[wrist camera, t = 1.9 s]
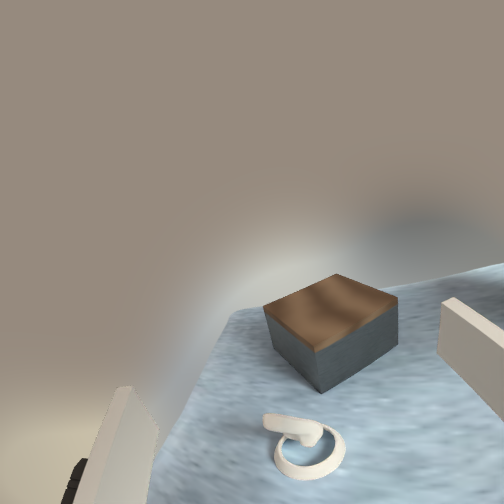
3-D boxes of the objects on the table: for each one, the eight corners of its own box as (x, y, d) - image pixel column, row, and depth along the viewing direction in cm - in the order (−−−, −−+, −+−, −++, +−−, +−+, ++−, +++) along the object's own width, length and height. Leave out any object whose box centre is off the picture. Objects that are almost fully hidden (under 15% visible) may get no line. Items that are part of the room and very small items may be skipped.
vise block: (341, 313, 51) (336, 273, 49) (397, 344, 38) (397, 297, 36) (273, 347, 47) (262, 306, 44) (321, 394, 34) (313, 346, 32)
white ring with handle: (218, 479, 20) (227, 408, 24) (287, 473, 27) (292, 421, 31) (294, 493, 16) (302, 409, 20) (347, 477, 23) (351, 419, 27)
